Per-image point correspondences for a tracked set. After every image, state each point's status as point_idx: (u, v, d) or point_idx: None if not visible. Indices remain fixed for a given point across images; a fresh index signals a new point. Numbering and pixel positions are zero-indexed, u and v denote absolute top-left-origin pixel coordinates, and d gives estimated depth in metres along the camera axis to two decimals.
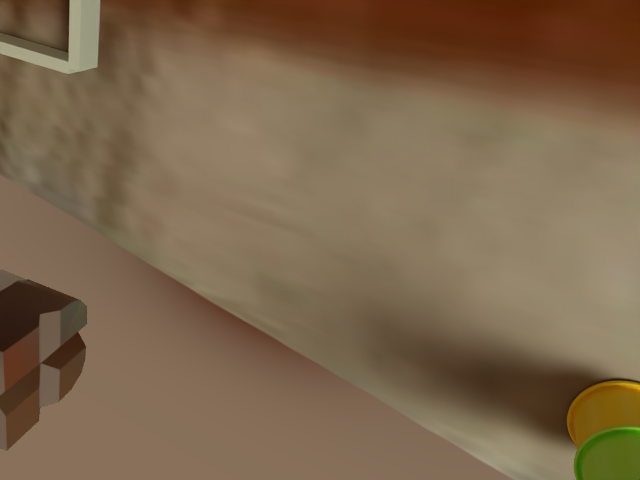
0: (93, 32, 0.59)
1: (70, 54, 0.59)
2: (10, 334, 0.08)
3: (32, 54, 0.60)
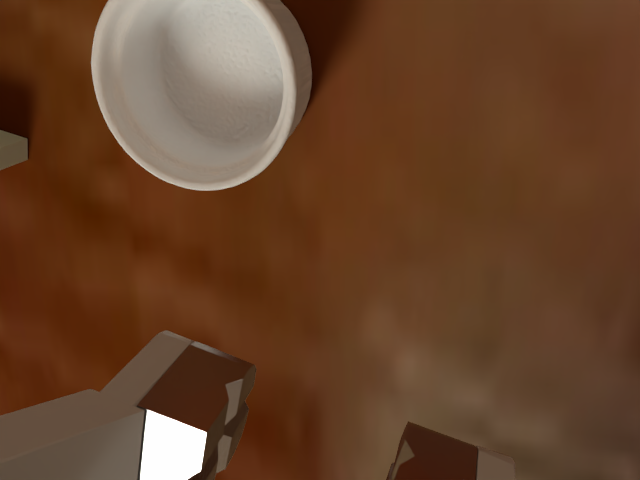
0: None
1: None
2: (205, 410, 0.07)
3: None
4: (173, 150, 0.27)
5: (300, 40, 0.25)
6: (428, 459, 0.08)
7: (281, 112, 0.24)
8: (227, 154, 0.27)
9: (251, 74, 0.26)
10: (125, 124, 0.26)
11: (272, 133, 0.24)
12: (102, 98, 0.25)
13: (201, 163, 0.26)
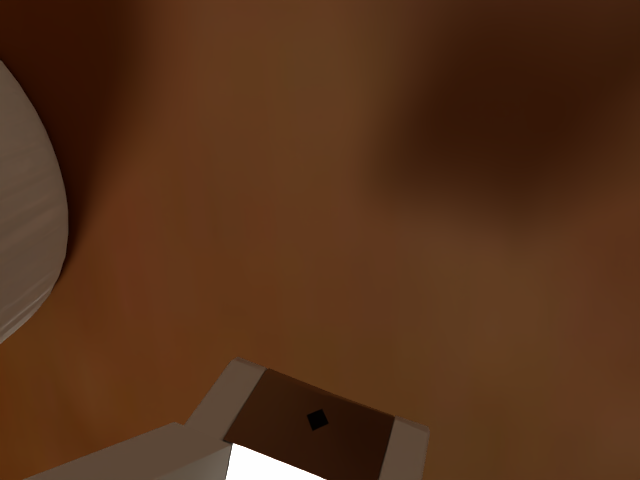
0: None
1: None
2: (291, 443, 0.07)
3: None
4: None
5: (5, 129, 0.11)
6: (342, 426, 0.08)
7: None
8: None
9: None
10: None
11: None
12: None
13: None
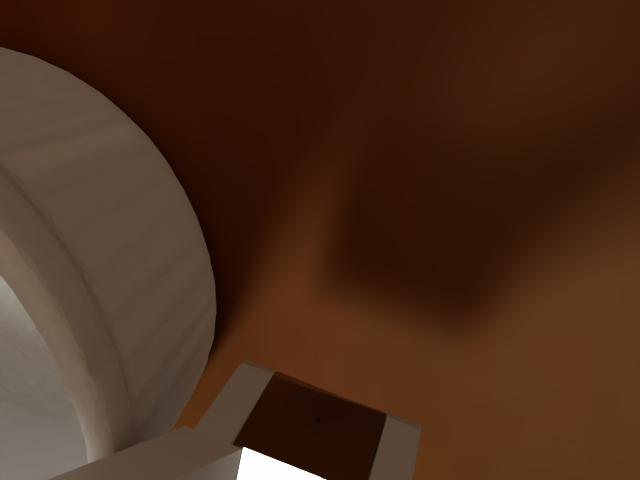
0: None
1: None
2: (301, 447, 0.07)
3: None
4: None
5: (166, 228, 0.09)
6: (334, 423, 0.08)
7: None
8: (22, 462, 0.11)
9: None
10: None
11: None
12: None
13: None
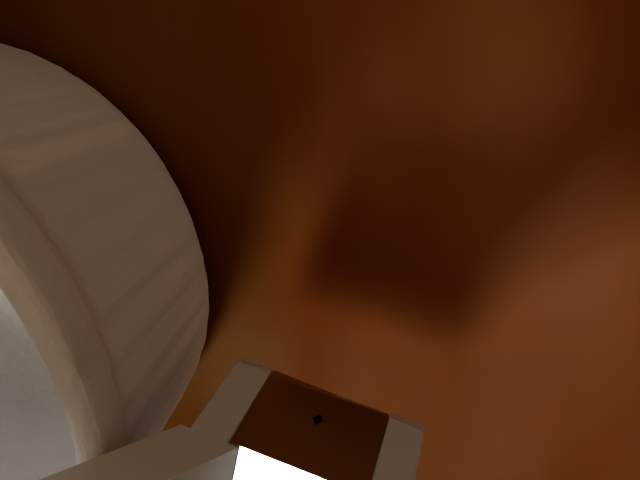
0: None
1: None
2: (297, 446, 0.07)
3: None
4: None
5: (159, 227, 0.09)
6: (336, 424, 0.08)
7: None
8: (11, 459, 0.11)
9: None
10: None
11: None
12: None
13: None
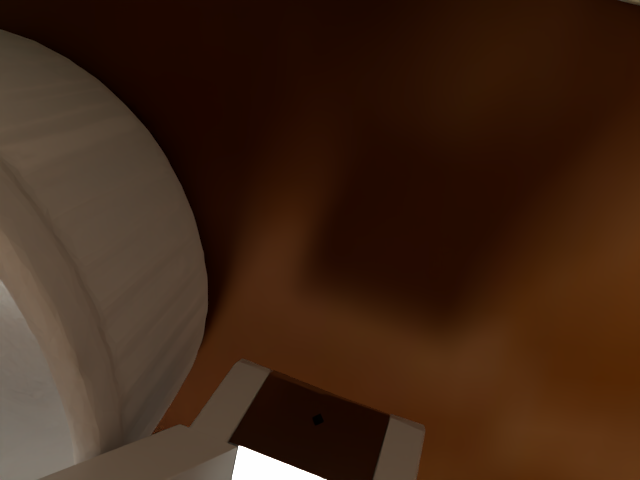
0: None
1: None
2: (296, 445, 0.07)
3: None
4: None
5: (162, 224, 0.09)
6: (337, 425, 0.08)
7: None
8: (3, 449, 0.11)
9: None
10: None
11: None
12: None
13: None
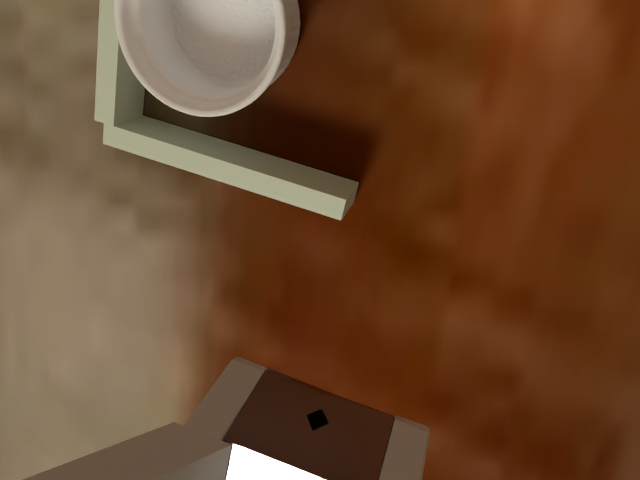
0: None
1: (125, 133, 0.33)
2: (291, 443, 0.07)
3: (112, 50, 0.31)
4: (179, 83, 0.31)
5: None
6: (342, 426, 0.08)
7: (272, 52, 0.29)
8: (224, 90, 0.32)
9: (248, 21, 0.31)
10: (139, 57, 0.30)
11: (264, 70, 0.29)
12: (121, 33, 0.30)
13: (202, 94, 0.31)
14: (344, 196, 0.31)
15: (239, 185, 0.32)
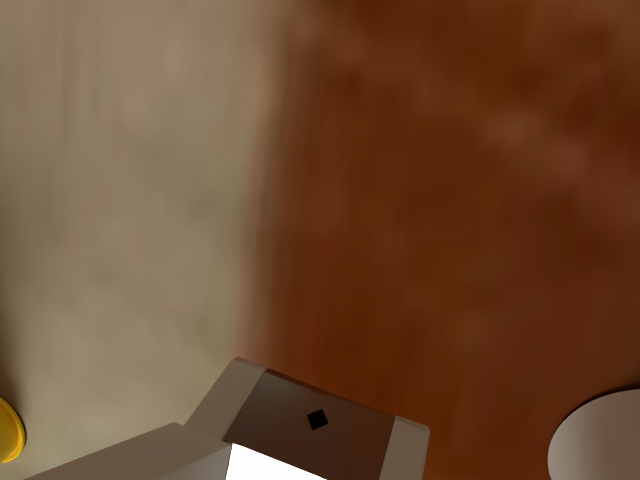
0: None
1: None
2: (290, 443, 0.07)
3: None
4: None
5: None
6: (342, 427, 0.08)
7: None
8: None
9: None
10: None
11: None
12: None
13: None
14: None
15: None
